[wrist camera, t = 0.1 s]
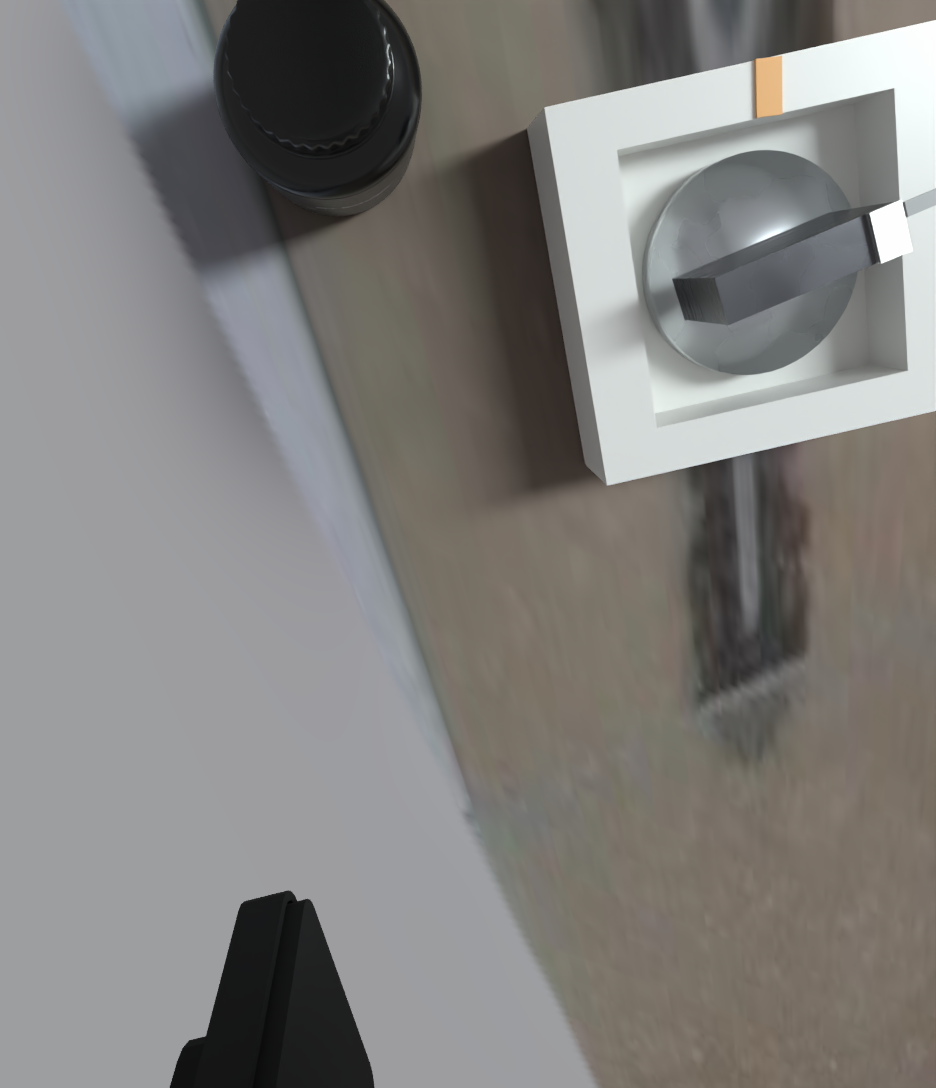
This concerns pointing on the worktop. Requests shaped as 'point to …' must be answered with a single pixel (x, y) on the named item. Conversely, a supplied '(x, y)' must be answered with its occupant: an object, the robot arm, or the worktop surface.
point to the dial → (760, 260)
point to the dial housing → (670, 159)
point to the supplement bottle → (320, 98)
